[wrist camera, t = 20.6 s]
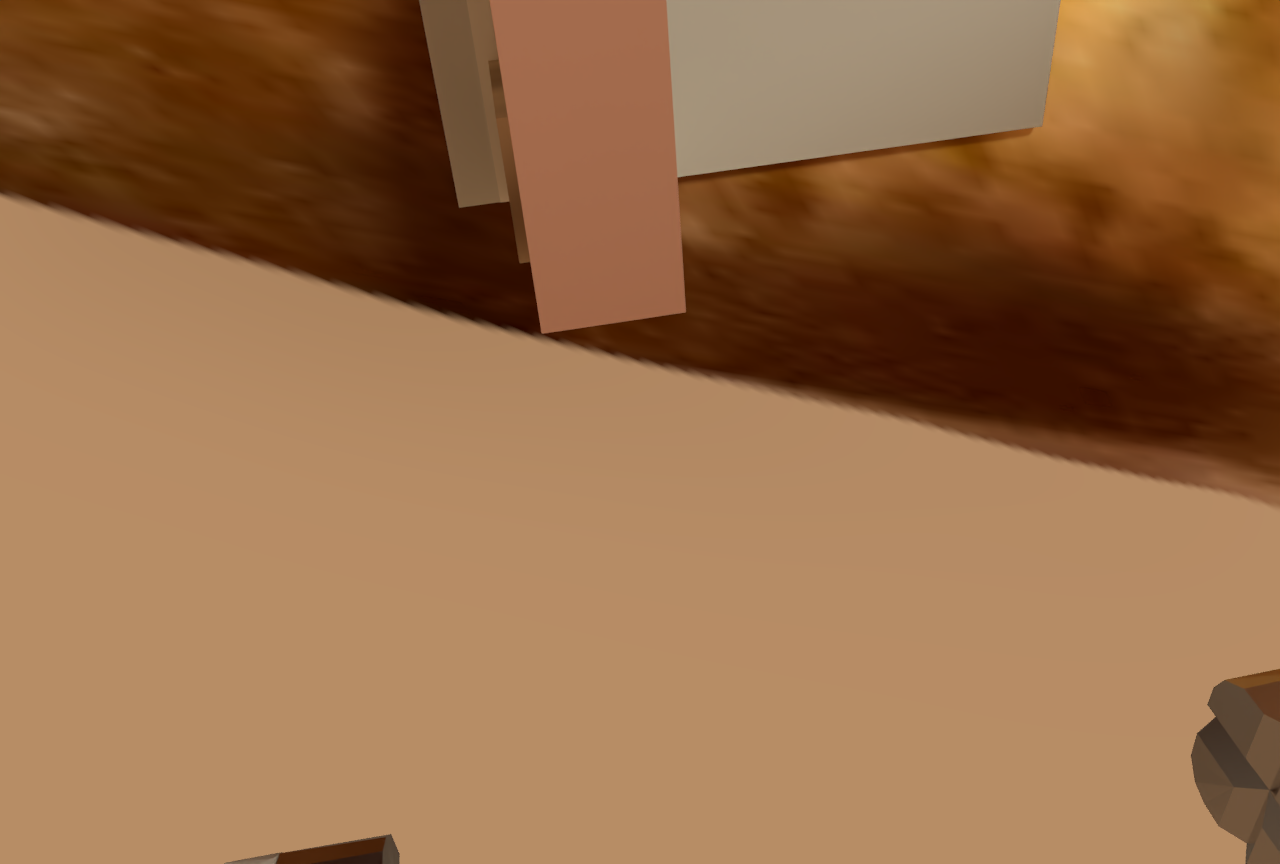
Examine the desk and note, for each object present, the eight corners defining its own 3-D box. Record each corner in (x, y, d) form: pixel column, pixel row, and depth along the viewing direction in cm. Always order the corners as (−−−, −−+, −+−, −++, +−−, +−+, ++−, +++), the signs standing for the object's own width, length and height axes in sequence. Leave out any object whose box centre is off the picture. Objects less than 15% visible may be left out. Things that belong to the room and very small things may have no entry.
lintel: (530, 265, 33) (541, 333, 30) (456, -210, 26) (460, -186, 23) (661, 246, 34) (685, 312, 30) (625, -229, 26) (653, -208, 23)
